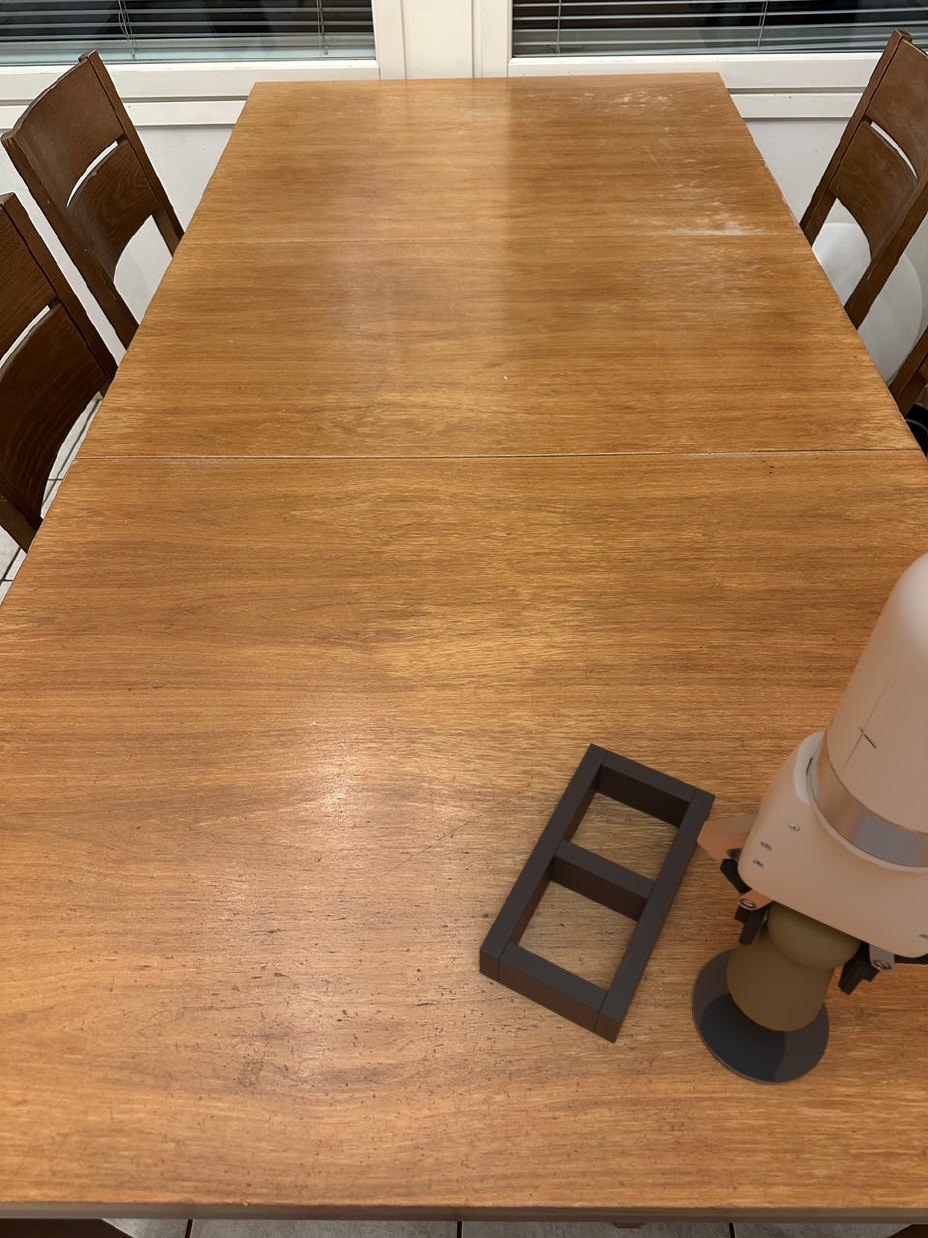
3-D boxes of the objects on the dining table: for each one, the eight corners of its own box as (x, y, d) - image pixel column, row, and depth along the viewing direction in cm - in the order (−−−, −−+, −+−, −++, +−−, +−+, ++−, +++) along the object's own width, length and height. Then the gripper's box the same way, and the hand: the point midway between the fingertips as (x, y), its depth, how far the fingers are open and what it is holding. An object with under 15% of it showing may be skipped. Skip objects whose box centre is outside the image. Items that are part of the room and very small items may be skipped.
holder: (706, 822, 74) (716, 795, 71) (614, 1044, 63) (620, 1023, 60) (586, 770, 77) (590, 742, 74) (479, 972, 66) (478, 949, 63)
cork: (706, 977, 60) (745, 902, 52) (765, 918, 63) (810, 837, 55) (784, 1053, 57) (838, 985, 49) (842, 987, 60) (902, 913, 52)
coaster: (842, 986, 65) (844, 984, 65) (807, 1112, 60) (809, 1110, 60) (716, 928, 68) (717, 925, 68) (672, 1042, 63) (674, 1040, 63)
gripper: (1117, 795, 42) (961, 959, 55) (740, 656, 47) (682, 835, 61) (1103, 940, 37) (937, 1079, 51) (690, 768, 43) (639, 935, 57)
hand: (799, 945), depth 56 cm, fingers closed on cork, 5 cm apart
